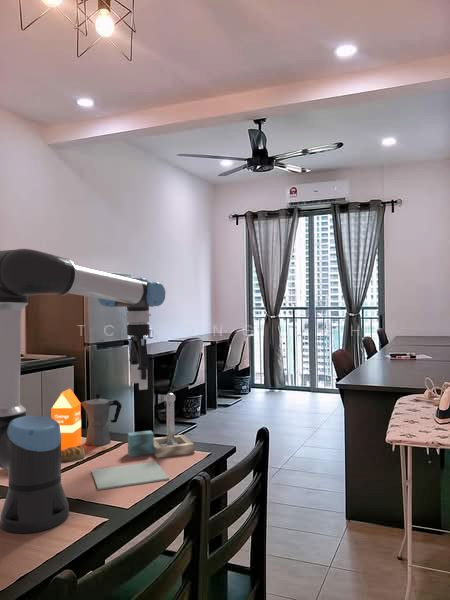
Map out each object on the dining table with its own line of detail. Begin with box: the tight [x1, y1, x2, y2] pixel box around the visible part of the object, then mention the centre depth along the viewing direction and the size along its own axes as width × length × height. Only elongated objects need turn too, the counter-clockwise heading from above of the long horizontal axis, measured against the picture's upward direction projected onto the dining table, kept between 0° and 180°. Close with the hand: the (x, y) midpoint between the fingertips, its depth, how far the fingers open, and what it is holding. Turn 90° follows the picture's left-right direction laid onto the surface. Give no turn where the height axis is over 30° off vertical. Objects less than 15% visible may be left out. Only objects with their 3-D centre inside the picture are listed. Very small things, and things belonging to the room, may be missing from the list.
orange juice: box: [50, 388, 82, 451], centre depth 174 cm, size 8×9×20 cm
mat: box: [90, 461, 170, 491], centre depth 144 cm, size 20×16×1 cm
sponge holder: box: [127, 430, 195, 459], centre depth 167 cm, size 21×13×7 cm, turn 112°
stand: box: [160, 392, 178, 446], centre depth 169 cm, size 6×6×20 cm
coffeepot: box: [80, 393, 123, 447], centre depth 179 cm, size 15×9×18 cm, turn 86°
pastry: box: [61, 444, 86, 463], centre depth 161 cm, size 9×7×4 cm
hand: (139, 386), depth 165 cm, fingers open, 13 cm apart
